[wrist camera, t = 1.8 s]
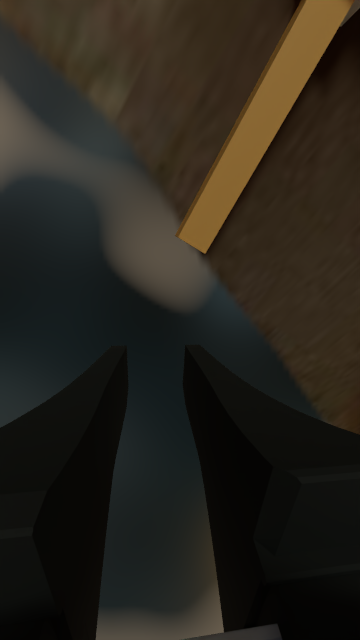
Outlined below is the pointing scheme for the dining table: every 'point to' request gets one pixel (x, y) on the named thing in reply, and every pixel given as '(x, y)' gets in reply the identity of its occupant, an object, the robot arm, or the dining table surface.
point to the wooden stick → (263, 115)
